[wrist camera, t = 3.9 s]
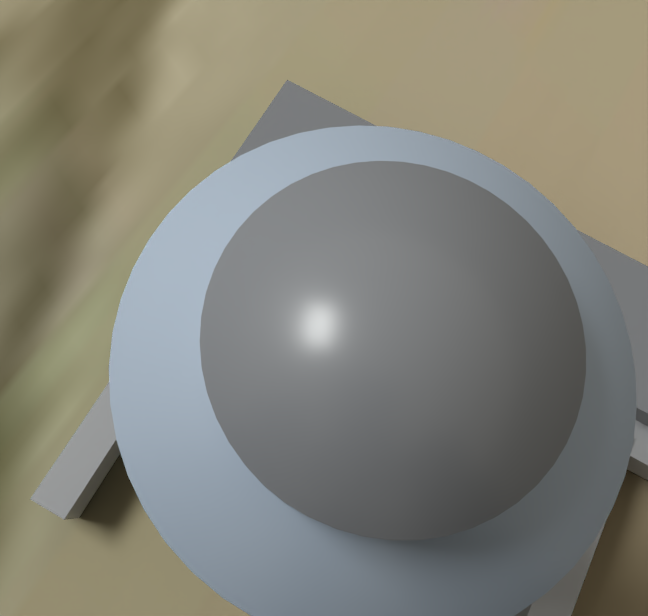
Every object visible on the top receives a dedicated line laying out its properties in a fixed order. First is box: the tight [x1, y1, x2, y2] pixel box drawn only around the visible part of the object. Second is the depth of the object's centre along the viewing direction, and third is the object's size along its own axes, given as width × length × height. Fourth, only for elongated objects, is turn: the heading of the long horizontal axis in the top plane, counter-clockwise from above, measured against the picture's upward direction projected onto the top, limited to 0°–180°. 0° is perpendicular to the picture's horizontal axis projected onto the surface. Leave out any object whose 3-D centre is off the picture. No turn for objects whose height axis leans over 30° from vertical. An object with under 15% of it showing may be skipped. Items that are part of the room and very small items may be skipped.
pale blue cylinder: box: [109, 125, 637, 616], centre depth 11 cm, size 5×5×13 cm
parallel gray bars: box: [31, 80, 648, 616], centre depth 16 cm, size 24×14×2 cm, turn 61°
